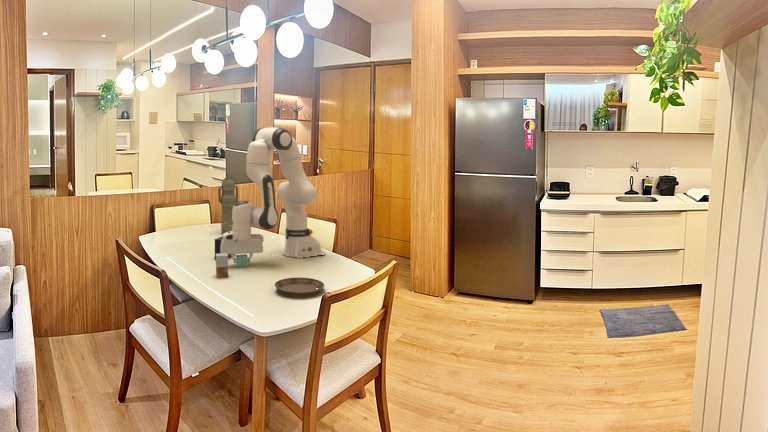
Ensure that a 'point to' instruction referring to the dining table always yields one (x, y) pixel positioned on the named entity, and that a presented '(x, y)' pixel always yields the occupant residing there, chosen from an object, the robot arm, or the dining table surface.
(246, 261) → the teal cube
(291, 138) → the robot arm
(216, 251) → the small box
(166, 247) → the dining table surface
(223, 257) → the grey mid block
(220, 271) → the walnut base block
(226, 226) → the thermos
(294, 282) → the plant saucer
